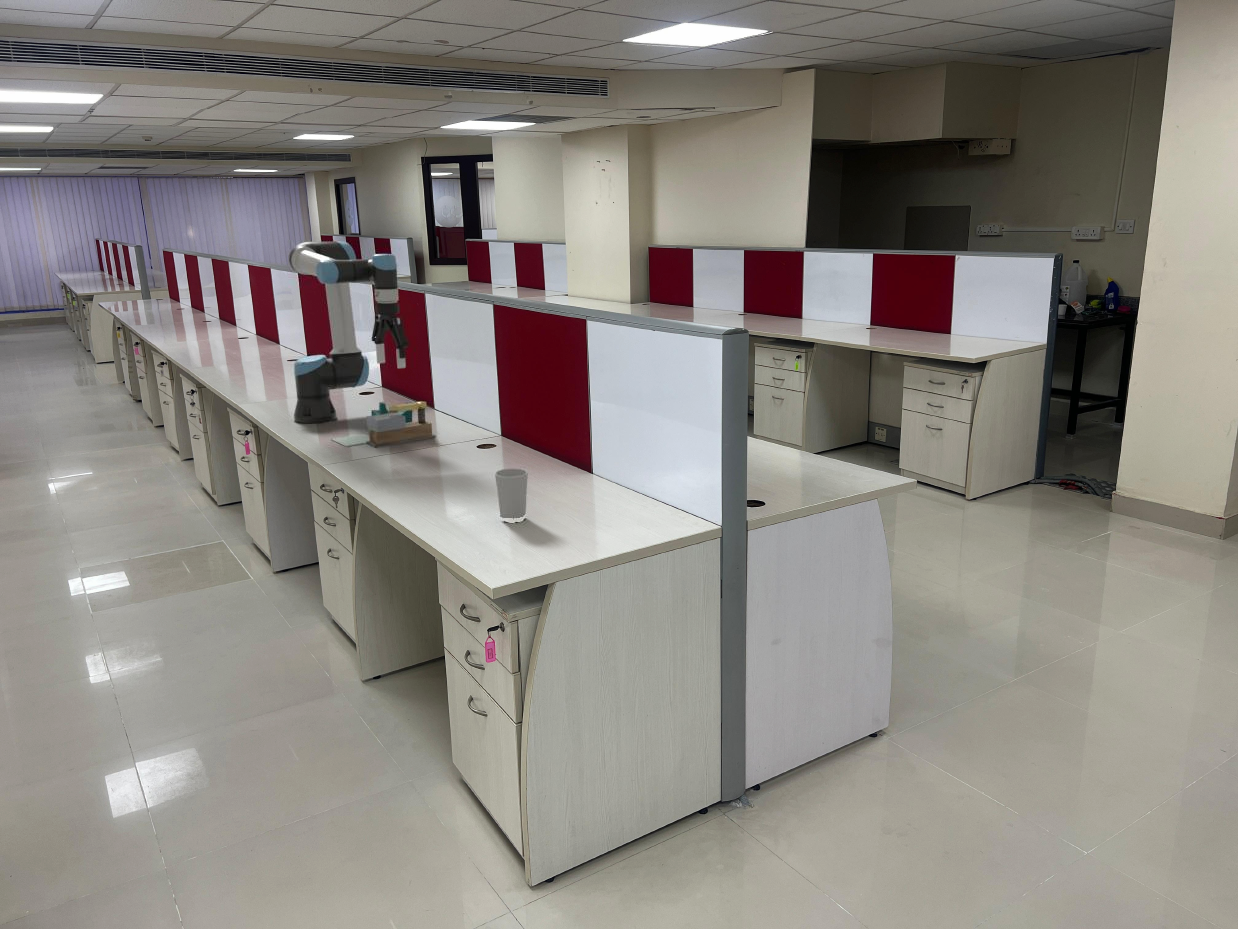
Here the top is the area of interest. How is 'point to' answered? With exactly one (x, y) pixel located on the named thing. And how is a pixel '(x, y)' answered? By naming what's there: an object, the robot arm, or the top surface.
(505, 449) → the top surface
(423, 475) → the top surface
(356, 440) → the mat
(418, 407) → the lever
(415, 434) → the plane body
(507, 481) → the cup
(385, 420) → the gray rectangular block
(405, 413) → the teal notched cradle
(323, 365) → the robot arm
